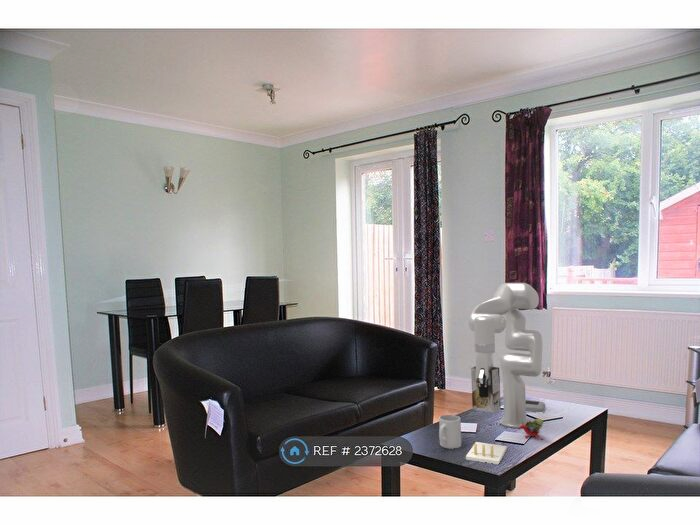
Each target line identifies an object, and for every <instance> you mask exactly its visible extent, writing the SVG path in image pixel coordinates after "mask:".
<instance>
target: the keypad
mask: <svg viewBox="0 0 700 525" xmlns="http://www.w3.org/2000/svg"><path fill="white" fill-rule="evenodd" d="M544 408H545V409H546V402H543V401H539V400H531V399H526V411H532V412H531V413H536V412H543V411H544V412H545V410H544ZM544 412H543V413H544Z"/></svg>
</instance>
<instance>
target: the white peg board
mask: <svg viewBox="0 0 700 525" xmlns="http://www.w3.org/2000/svg"><path fill="white" fill-rule="evenodd" d="M507 450H508V447H507V446H506V445H500V444H493V443H486V442H478V441H475V443H473V445H472V447H471V448H470V450H469V451H468V452H467V454H466V455H465V460H467V461H473V462H478V461H479V462H480V463H485V462H487V463H486V464H491V463H493V464H492V465H498V464H499V463H500V464H501V462H502V459H503V457H504V456H505V454H506V451H507ZM500 461H501V462H500ZM500 464H499V465H500Z"/></svg>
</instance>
